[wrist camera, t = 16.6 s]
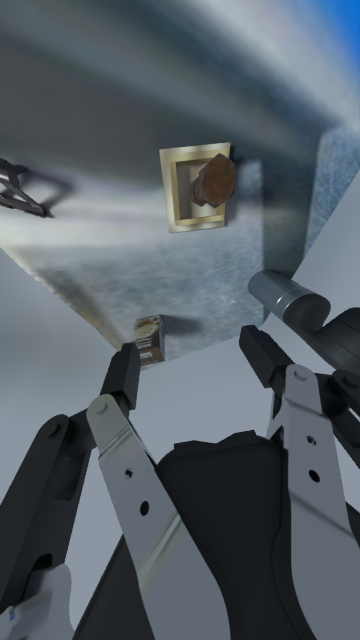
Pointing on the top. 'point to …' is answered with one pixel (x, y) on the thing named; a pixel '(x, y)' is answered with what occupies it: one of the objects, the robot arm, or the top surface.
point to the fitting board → (177, 178)
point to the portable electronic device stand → (17, 191)
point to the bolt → (214, 182)
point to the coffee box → (149, 339)
